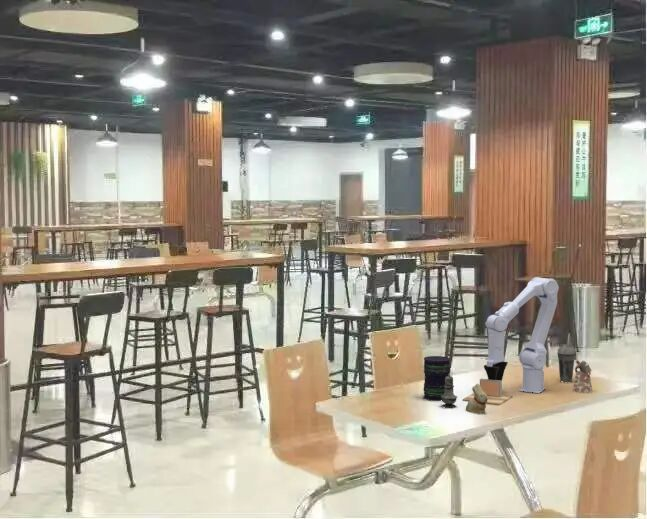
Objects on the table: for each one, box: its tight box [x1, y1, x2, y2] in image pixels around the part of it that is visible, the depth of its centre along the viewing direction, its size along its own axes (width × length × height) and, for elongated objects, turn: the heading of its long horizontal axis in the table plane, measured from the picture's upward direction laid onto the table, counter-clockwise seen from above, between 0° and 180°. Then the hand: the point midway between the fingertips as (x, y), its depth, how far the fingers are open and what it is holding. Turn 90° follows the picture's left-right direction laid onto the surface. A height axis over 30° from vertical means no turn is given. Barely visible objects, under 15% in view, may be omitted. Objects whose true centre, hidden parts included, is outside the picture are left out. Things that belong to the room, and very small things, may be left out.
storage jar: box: [423, 355, 451, 402], centre depth 308 cm, size 10×10×15 cm
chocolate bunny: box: [465, 383, 488, 414], centre depth 287 cm, size 6×8×10 cm
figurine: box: [572, 359, 593, 394], centre depth 319 cm, size 7×7×12 cm
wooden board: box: [462, 392, 514, 406], centre depth 306 cm, size 15×14×1 cm
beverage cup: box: [557, 332, 577, 382], centre depth 336 cm, size 7×7×20 cm
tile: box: [479, 378, 503, 397], centre depth 309 cm, size 2×8×6 cm, turn 59°
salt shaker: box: [441, 373, 458, 409], centre depth 295 cm, size 6×6×12 cm
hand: (495, 382), depth 313 cm, fingers open, 7 cm apart
